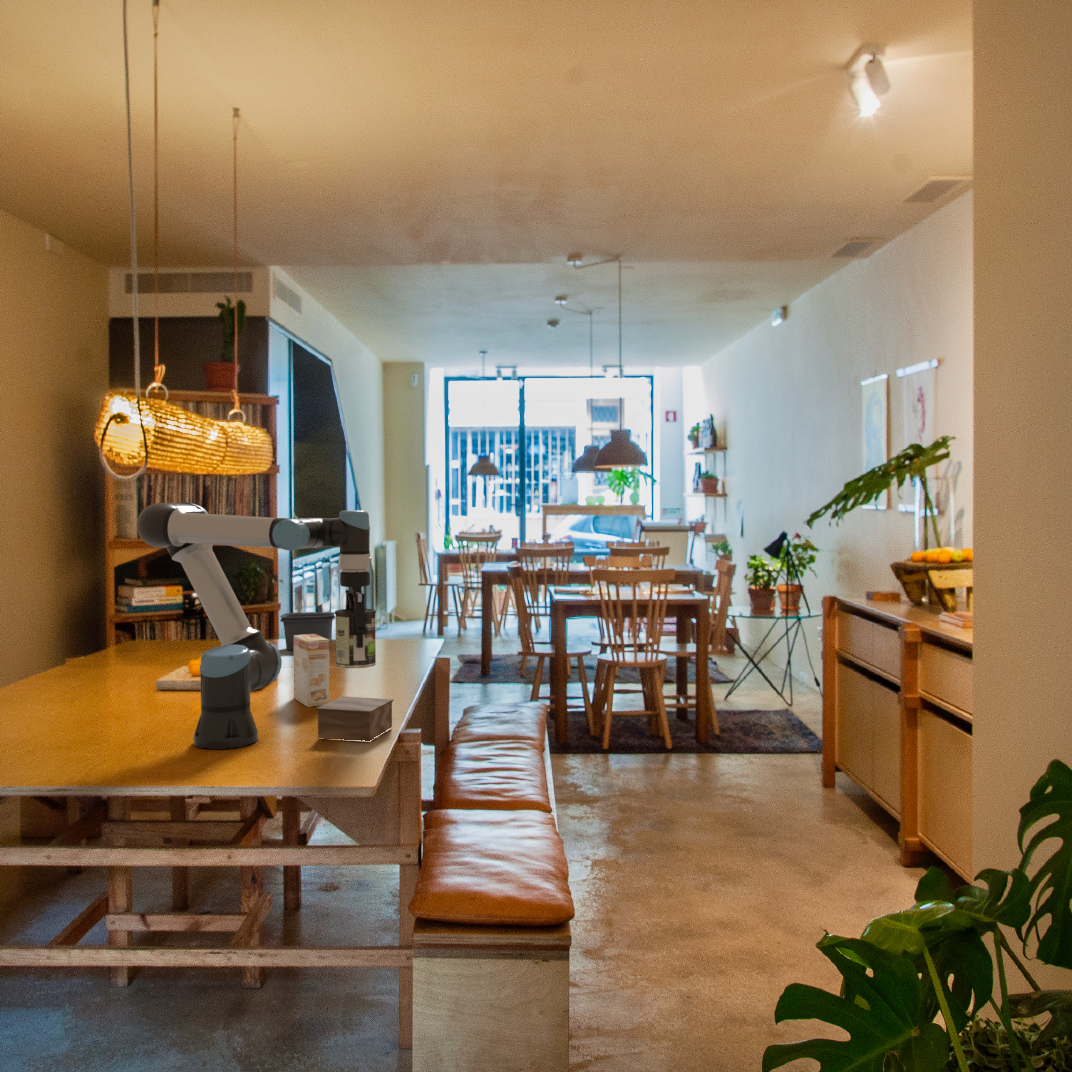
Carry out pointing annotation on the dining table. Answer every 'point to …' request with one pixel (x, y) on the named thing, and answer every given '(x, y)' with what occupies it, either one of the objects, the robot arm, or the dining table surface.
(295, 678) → the coffeecake box
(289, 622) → the storage bin
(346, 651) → the coffee can
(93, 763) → the dining table surface
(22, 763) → the dining table surface
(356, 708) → the walnut box
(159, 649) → the dining table surface
